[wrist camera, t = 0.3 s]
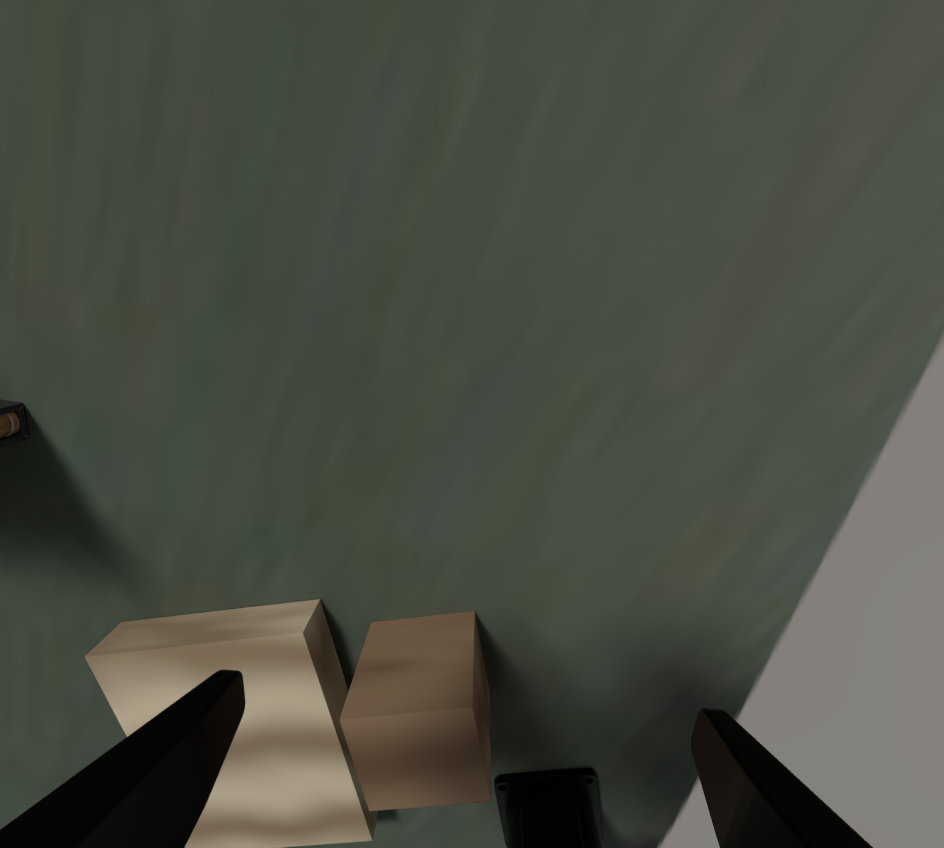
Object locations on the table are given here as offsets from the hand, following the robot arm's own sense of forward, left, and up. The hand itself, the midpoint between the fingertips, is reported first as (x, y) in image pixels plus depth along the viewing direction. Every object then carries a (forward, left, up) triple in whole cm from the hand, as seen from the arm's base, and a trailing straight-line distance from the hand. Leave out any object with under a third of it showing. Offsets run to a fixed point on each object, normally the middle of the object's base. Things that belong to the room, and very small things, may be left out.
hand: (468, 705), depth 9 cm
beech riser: (-16, +16, -14) cm, 26 cm away
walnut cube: (-13, +5, -14) cm, 19 cm away
